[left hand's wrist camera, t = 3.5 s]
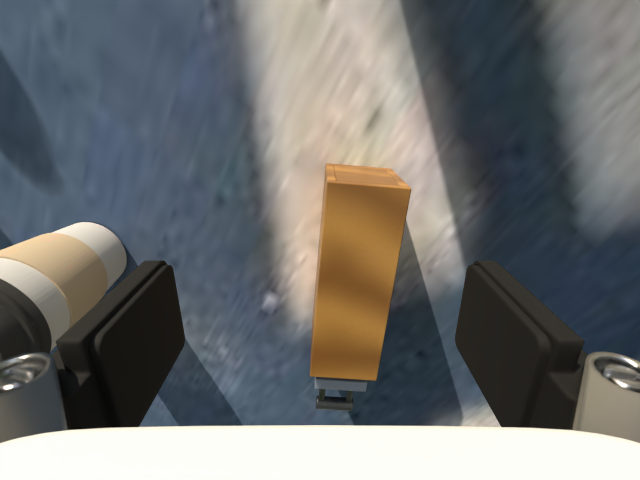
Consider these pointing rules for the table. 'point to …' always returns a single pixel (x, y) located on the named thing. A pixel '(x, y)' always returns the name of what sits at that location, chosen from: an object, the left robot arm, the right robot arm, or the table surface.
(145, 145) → the table surface
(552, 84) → the table surface
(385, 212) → the cabinet
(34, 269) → the coffee cup
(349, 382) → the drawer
